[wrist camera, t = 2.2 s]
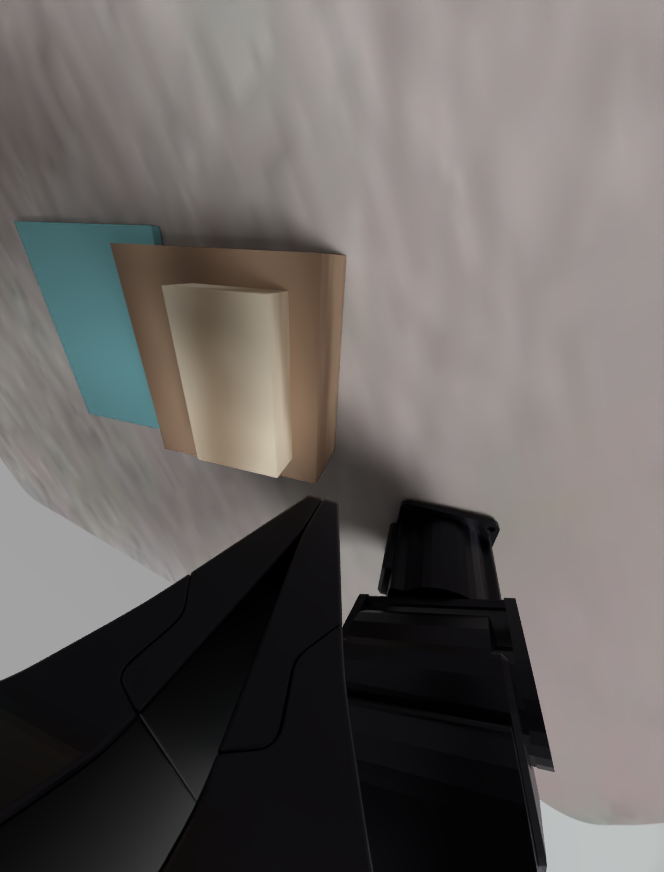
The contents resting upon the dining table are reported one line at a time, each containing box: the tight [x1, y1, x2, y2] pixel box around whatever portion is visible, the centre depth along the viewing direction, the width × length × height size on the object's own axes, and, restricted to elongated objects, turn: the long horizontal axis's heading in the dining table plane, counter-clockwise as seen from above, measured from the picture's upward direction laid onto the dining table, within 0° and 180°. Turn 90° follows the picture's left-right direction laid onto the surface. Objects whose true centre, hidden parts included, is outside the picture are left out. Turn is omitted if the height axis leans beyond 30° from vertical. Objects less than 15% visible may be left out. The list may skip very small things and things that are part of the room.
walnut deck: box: [110, 243, 346, 484], centre depth 18 cm, size 11×12×4 cm
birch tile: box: [161, 283, 292, 478], centre depth 16 cm, size 5×9×2 cm, turn 178°
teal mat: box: [14, 221, 162, 429], centre depth 23 cm, size 11×14×1 cm
